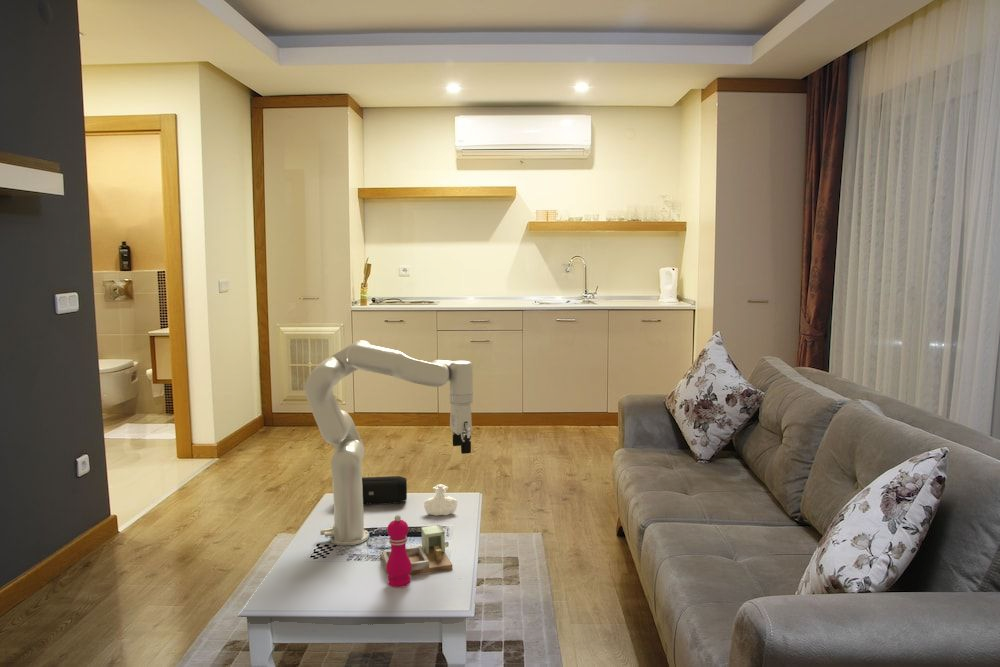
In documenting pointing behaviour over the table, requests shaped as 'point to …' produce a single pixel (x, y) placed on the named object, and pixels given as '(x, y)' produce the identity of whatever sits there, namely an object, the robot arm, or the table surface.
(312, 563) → the table surface
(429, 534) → the block
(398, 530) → the pepper mill
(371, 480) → the portable speaker
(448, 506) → the bust
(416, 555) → the stand
